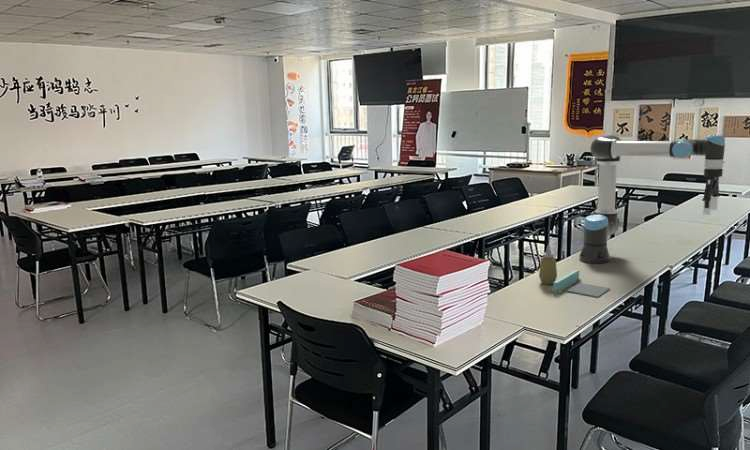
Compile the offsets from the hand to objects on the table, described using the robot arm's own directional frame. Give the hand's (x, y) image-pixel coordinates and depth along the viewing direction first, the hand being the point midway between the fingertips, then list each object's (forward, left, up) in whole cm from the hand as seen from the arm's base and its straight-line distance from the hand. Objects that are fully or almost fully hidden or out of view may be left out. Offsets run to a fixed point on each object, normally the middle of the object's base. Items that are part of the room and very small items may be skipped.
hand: (710, 212), depth 266 cm
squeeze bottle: (-51, -64, -28) cm, 87 cm away
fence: (-42, -64, -28) cm, 82 cm away
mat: (-32, -64, -28) cm, 77 cm away
